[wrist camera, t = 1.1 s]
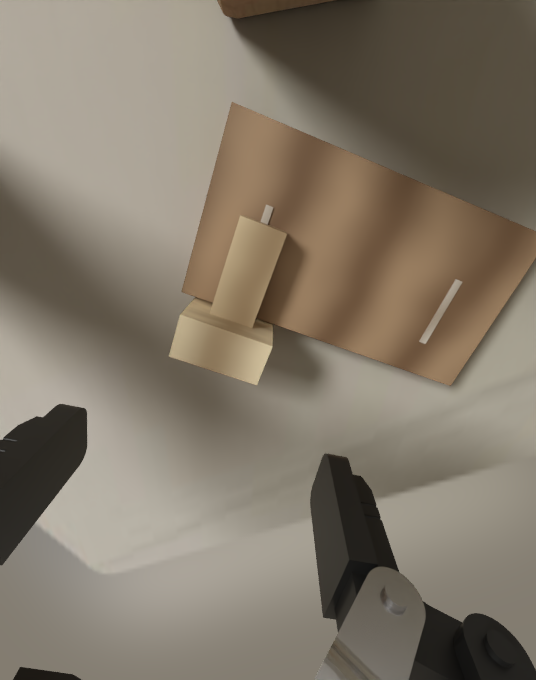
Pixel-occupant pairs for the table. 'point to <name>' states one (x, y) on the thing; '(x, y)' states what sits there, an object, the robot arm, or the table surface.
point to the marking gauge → (234, 309)
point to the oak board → (359, 249)
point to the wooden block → (261, 6)
